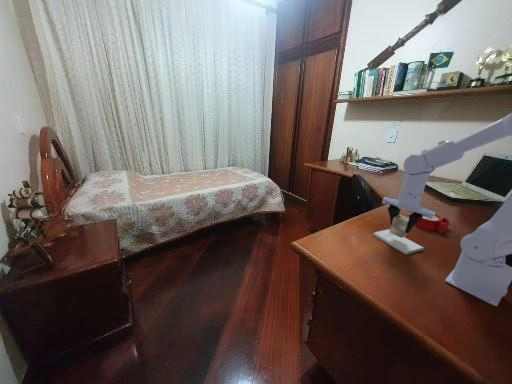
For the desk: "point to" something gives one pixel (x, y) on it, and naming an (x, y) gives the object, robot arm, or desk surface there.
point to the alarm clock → (434, 223)
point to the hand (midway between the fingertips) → (399, 229)
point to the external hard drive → (398, 242)
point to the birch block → (399, 226)
